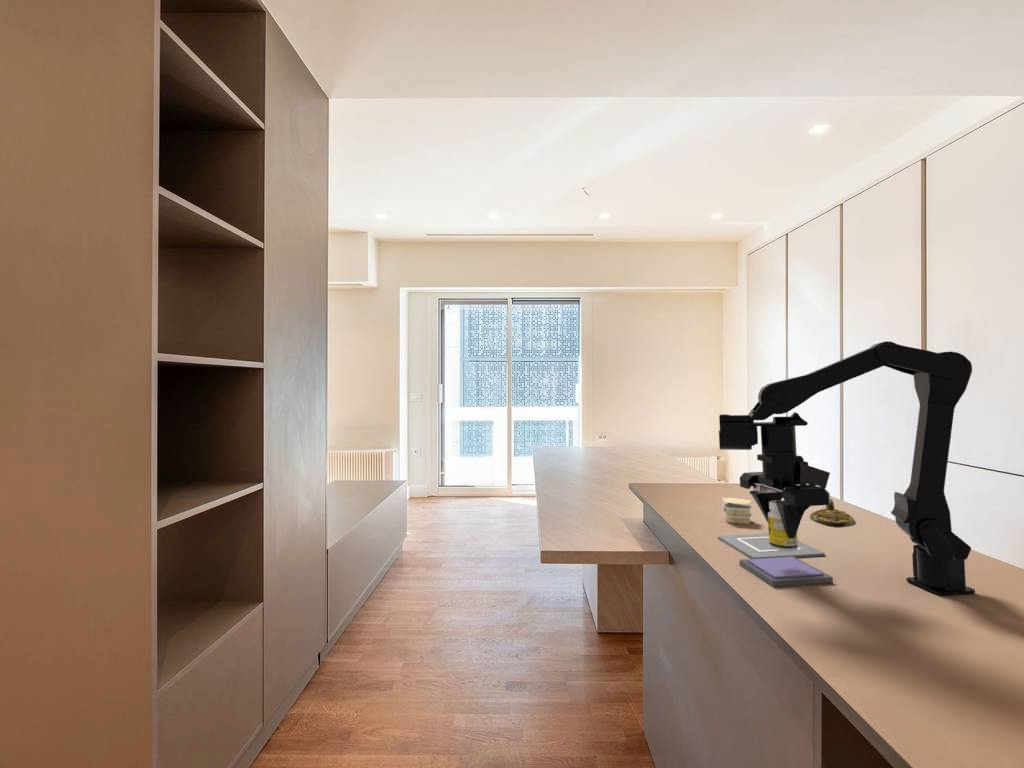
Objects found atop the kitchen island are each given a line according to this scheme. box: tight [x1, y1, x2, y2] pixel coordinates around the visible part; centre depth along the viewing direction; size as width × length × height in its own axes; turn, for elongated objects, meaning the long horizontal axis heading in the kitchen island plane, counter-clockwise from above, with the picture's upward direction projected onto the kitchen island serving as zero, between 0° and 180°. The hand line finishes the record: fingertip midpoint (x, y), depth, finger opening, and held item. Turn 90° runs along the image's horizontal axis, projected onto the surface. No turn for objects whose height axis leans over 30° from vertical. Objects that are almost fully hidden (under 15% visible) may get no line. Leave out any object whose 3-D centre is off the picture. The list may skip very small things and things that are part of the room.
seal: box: [809, 498, 855, 527], centre depth 127 cm, size 9×5×15 cm
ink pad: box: [738, 556, 834, 588], centre depth 92 cm, size 11×11×1 cm
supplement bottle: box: [767, 499, 799, 551], centre depth 92 cm, size 5×5×8 cm
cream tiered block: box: [721, 497, 753, 525], centre depth 129 cm, size 10×9×6 cm
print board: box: [717, 532, 826, 559], centre depth 108 cm, size 15×15×1 cm
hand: (782, 534), depth 92 cm, fingers closed on supplement bottle, 5 cm apart
